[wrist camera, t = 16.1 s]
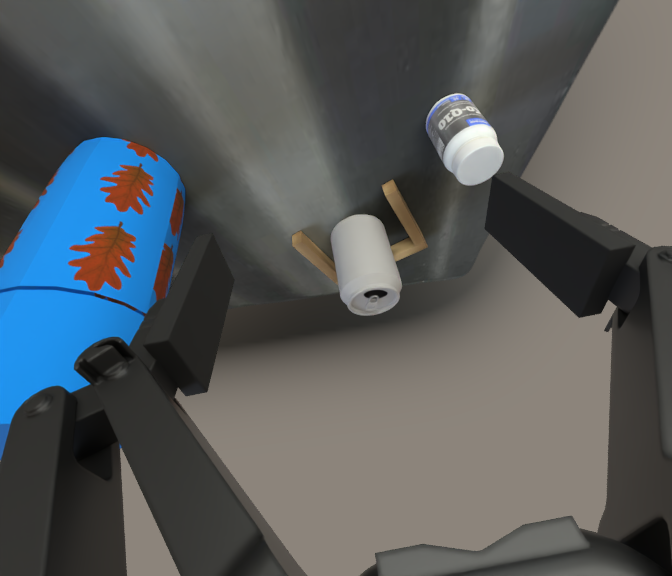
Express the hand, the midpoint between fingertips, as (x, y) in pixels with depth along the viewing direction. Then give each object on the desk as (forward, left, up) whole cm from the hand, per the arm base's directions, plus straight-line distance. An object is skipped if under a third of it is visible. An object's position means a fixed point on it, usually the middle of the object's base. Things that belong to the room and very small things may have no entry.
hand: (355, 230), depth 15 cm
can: (-6, -20, -20) cm, 29 cm away
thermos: (-23, +2, -20) cm, 30 cm away
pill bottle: (+8, -11, -20) cm, 25 cm away
